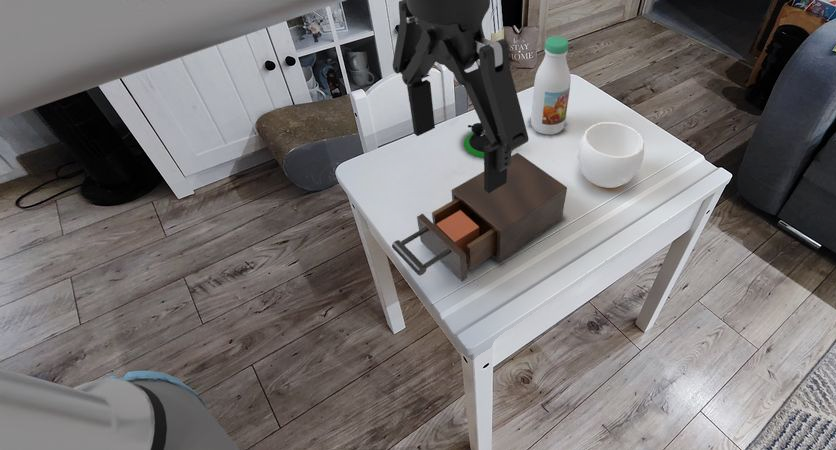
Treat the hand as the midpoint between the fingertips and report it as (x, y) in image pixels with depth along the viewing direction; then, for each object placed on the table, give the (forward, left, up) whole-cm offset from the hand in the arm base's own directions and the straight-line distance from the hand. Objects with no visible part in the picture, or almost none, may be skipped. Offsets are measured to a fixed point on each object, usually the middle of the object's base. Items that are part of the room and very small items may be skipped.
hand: (457, 157), depth 55 cm
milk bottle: (+42, +22, -27) cm, 55 cm away
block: (+4, +6, -25) cm, 26 cm away
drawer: (+4, +6, -26) cm, 27 cm away
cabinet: (+15, +6, -27) cm, 31 cm away
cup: (+38, +2, -27) cm, 47 cm away
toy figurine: (+27, +26, -27) cm, 46 cm away
